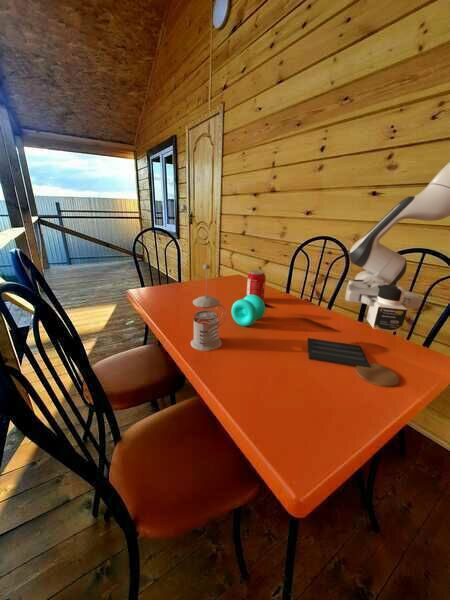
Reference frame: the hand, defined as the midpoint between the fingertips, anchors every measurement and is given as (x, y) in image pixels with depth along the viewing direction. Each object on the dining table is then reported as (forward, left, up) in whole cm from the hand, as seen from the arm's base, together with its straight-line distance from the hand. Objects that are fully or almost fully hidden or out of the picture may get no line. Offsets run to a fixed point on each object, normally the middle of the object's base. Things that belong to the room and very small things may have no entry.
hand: (388, 305), depth 72 cm
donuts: (+40, +14, -16) cm, 45 cm away
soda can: (+52, -3, -16) cm, 54 cm away
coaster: (-4, +11, -16) cm, 20 cm away
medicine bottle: (0, 0, -7) cm, 7 cm away
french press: (+37, +35, -16) cm, 53 cm away
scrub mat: (+8, +9, -16) cm, 20 cm away
